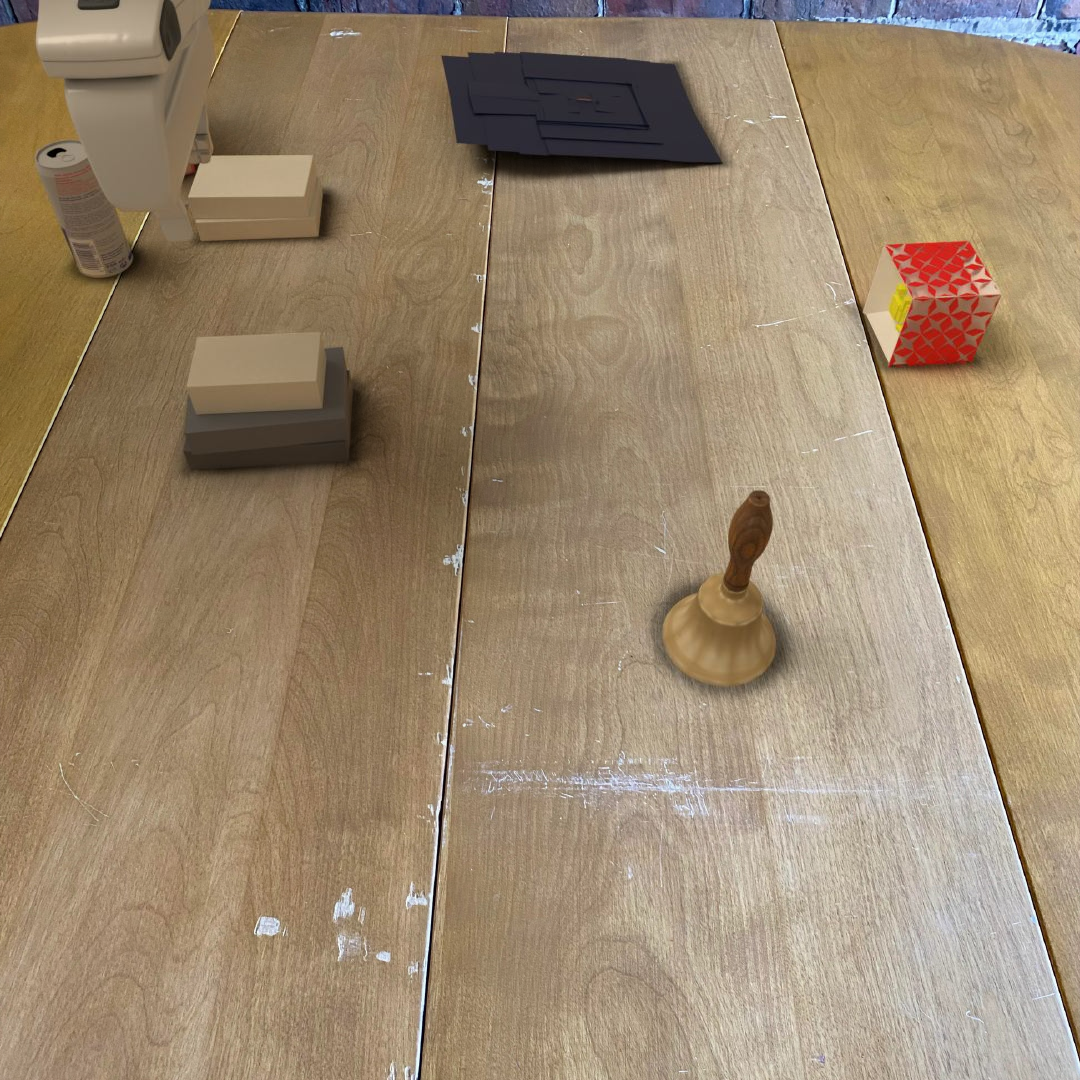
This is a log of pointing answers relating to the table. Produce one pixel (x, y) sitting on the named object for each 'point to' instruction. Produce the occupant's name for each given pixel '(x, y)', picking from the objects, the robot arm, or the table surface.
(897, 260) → the red patterned cube box
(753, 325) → the table surface
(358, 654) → the table surface
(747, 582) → the hand bell
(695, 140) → the papers
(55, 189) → the energy drink
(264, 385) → the beige rectangular block
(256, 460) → the grey lidded box
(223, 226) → the beige rectangular box
